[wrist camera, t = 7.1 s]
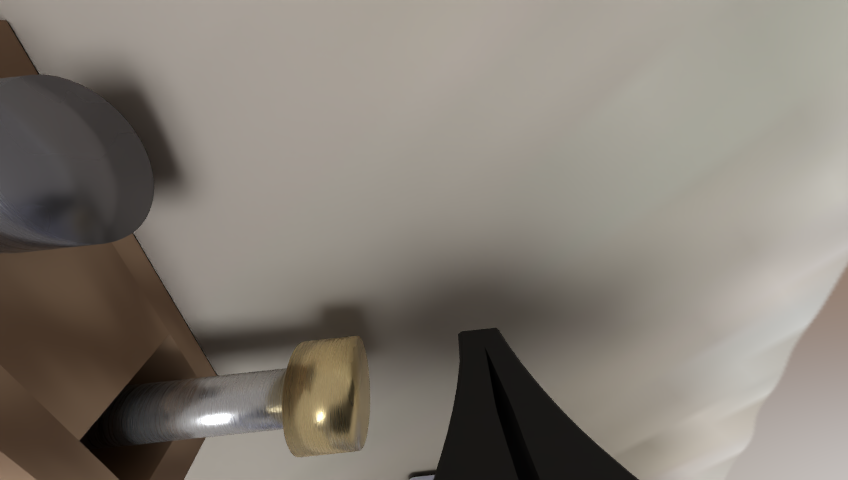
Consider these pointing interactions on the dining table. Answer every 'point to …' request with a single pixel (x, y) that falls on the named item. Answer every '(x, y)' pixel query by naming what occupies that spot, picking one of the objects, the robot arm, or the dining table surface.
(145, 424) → the brass knob
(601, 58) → the dining table surface
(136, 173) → the black knob
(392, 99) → the dining table surface
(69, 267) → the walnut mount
